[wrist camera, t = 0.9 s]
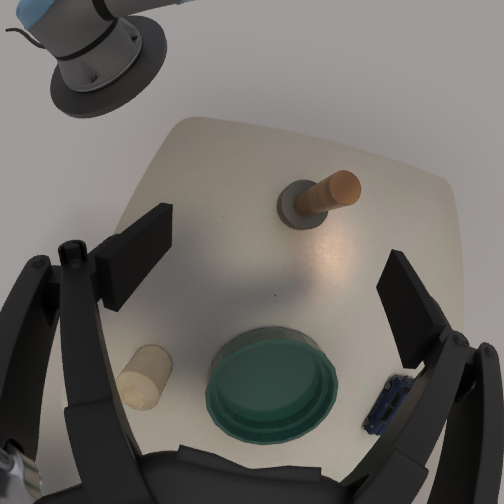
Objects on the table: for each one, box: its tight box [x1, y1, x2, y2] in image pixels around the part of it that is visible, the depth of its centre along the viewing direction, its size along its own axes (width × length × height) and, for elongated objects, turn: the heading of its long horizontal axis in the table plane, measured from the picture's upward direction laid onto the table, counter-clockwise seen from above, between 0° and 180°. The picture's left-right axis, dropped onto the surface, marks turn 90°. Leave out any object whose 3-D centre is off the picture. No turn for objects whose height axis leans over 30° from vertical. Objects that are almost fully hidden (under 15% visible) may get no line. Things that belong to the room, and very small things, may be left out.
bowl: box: [205, 328, 338, 445], centre depth 34 cm, size 17×17×5 cm
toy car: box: [363, 375, 415, 435], centre depth 35 cm, size 6×12×6 cm, turn 160°
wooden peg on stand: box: [277, 170, 361, 230], centre depth 28 cm, size 6×6×15 cm
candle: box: [115, 345, 172, 410], centre depth 30 cm, size 6×6×10 cm
